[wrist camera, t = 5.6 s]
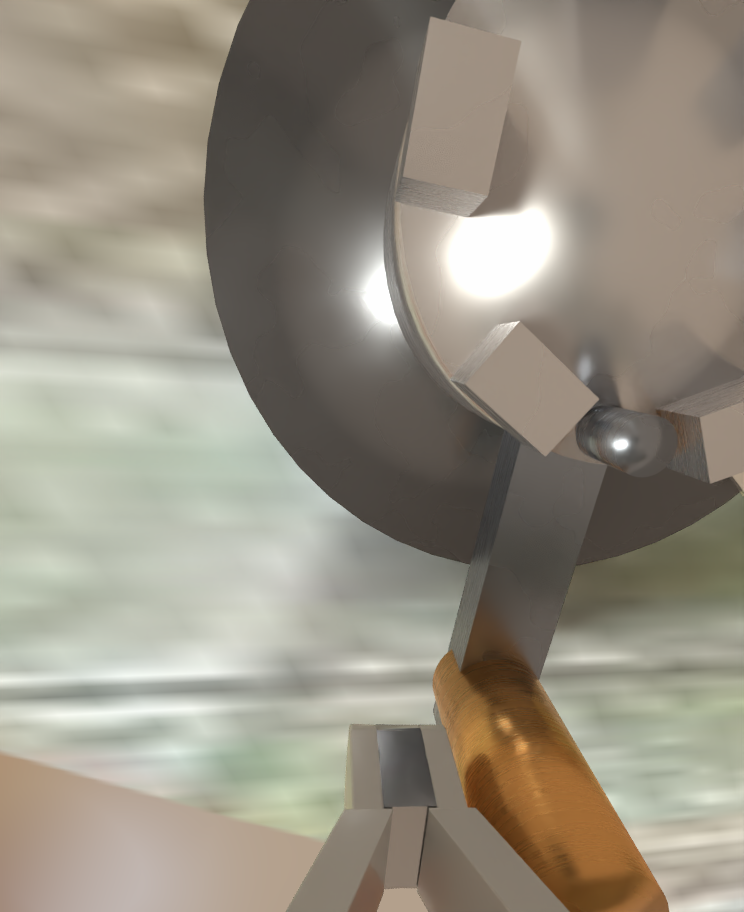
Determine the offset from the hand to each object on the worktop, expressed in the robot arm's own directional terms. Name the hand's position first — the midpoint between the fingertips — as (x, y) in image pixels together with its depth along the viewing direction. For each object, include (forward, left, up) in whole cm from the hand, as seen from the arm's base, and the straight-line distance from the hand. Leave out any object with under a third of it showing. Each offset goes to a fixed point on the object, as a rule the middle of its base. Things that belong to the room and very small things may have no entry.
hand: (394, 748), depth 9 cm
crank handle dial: (-6, +5, -4) cm, 8 cm away
